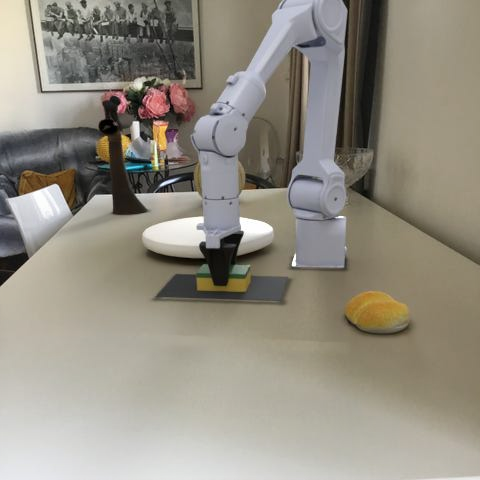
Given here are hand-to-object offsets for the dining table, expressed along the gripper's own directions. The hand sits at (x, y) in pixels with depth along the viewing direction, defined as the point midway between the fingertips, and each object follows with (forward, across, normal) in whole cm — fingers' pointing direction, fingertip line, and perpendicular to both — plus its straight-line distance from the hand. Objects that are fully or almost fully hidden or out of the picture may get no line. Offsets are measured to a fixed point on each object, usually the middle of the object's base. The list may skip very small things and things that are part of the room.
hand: (224, 279), depth 93 cm
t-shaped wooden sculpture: (+2, -62, -39) cm, 73 cm away
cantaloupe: (+2, -74, -16) cm, 76 cm away
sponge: (+1, 0, 0) cm, 1 cm away
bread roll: (+2, +12, +24) cm, 27 cm away
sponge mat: (+2, 0, 0) cm, 2 cm away
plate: (+2, -24, -8) cm, 25 cm away
